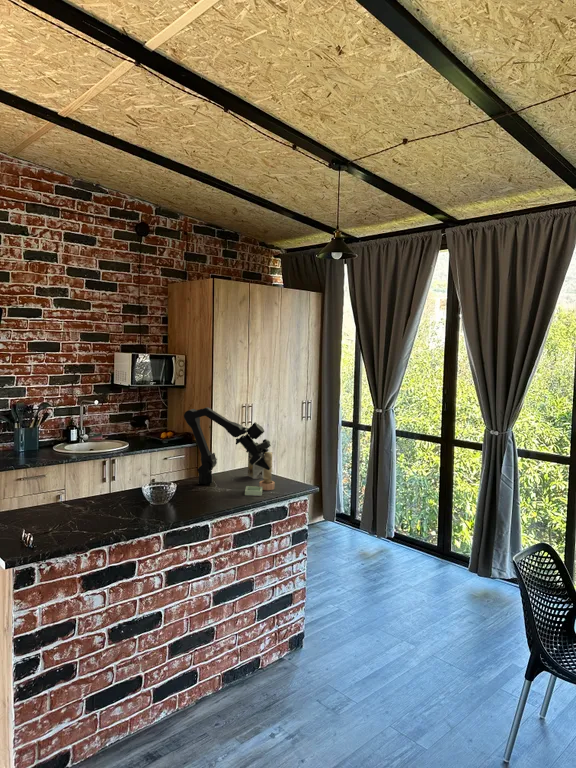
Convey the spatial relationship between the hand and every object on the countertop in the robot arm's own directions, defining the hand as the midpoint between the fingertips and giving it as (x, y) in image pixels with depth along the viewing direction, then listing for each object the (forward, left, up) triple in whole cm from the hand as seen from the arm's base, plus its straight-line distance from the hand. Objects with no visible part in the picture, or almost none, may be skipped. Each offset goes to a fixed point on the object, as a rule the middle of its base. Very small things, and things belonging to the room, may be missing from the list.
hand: (270, 468), depth 268 cm
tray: (-7, -9, -11) cm, 16 cm away
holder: (-1, 0, -11) cm, 11 cm away
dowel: (-1, 0, -8) cm, 8 cm away
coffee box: (-8, +22, -11) cm, 26 cm away
